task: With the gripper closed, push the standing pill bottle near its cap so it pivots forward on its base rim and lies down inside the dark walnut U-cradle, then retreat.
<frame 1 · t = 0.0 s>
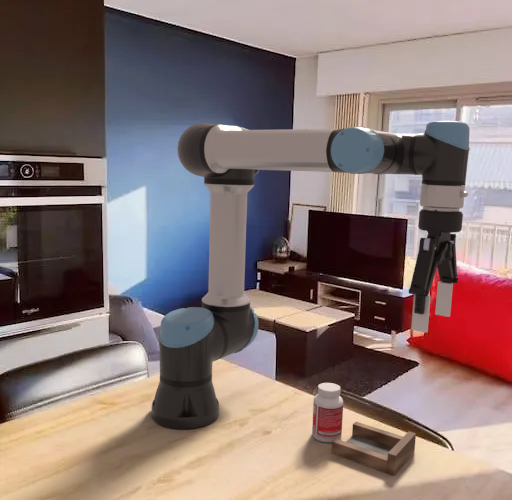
hand: (431, 322, 102), 28 cm above the table, fingers open, 13 cm apart
pill bottle: (326, 437, 115), on the table
cradle: (369, 451, 109), on the table
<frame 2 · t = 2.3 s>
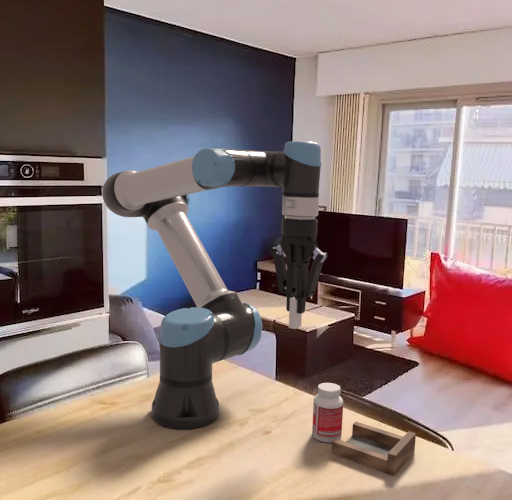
hand: (294, 326, 117), 22 cm above the table, fingers closed
nothing on the table moved.
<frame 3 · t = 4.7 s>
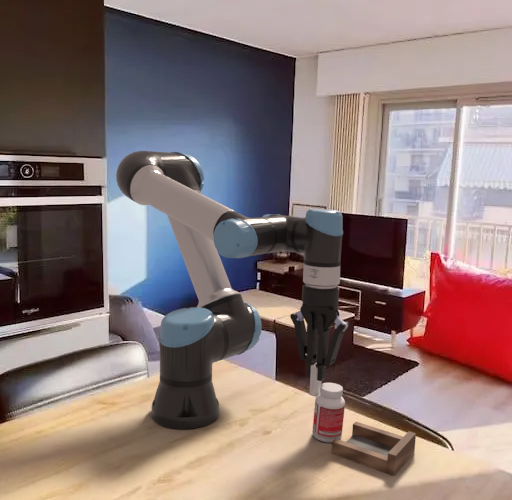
hand: (315, 393, 115), 9 cm above the table, fingers closed
pill bottle: (326, 436, 115), on the table, touching gripper
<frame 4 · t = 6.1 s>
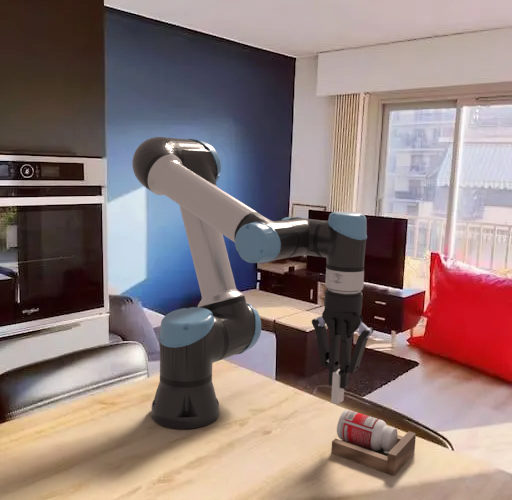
hand: (337, 401, 113), 8 cm above the table, fingers closed
pill bottle: (341, 423, 114), point 3 cm above the table, touching cradle
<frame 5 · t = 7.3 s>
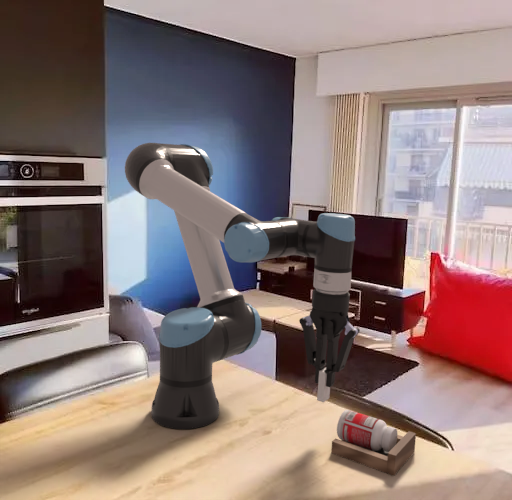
hand: (323, 399, 115), 8 cm above the table, fingers closed
nothing on the table moved.
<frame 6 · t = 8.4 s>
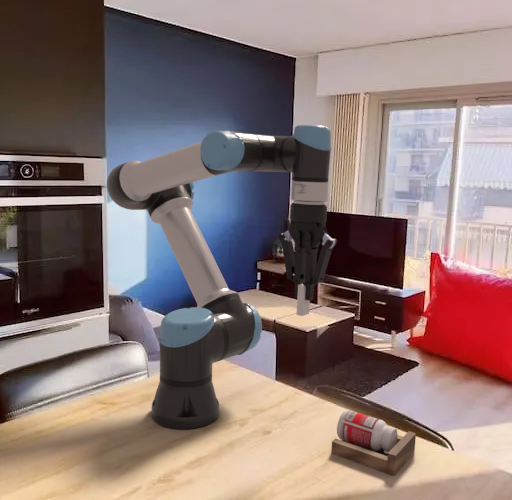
hand: (302, 314, 115), 25 cm above the table, fingers closed
nothing on the table moved.
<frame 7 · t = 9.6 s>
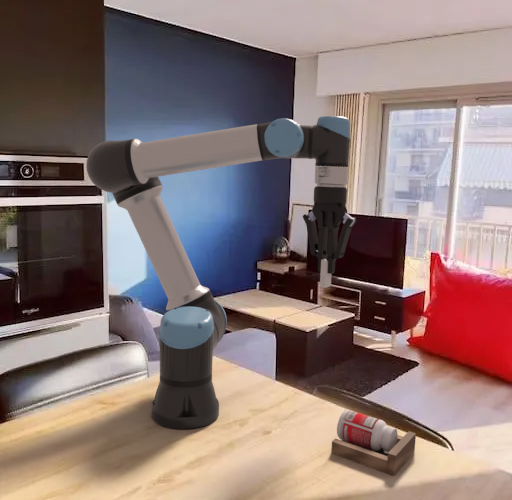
hand: (325, 286, 129), 28 cm above the table, fingers closed
nothing on the table moved.
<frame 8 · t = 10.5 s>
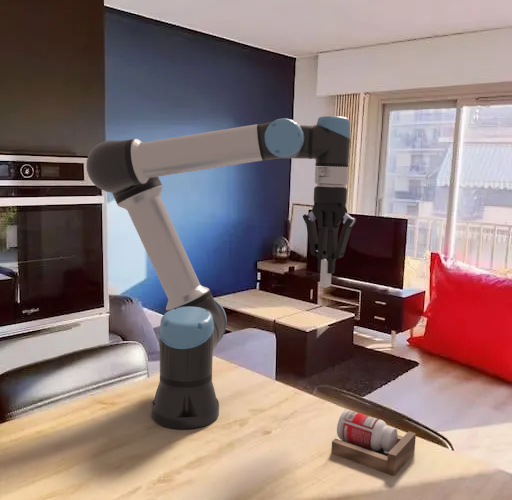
hand: (325, 286, 129), 28 cm above the table, fingers closed
nothing on the table moved.
at the end: pill bottle tilted 90°; pill bottle inside the target area (2.9 cm from its centre), point 3.4 cm above the table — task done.
